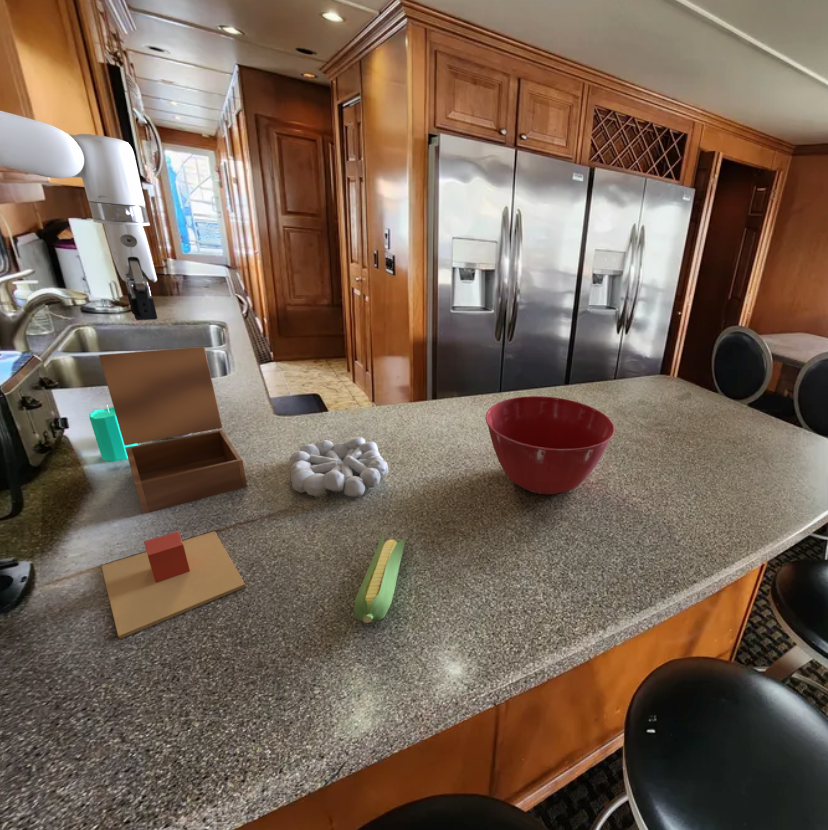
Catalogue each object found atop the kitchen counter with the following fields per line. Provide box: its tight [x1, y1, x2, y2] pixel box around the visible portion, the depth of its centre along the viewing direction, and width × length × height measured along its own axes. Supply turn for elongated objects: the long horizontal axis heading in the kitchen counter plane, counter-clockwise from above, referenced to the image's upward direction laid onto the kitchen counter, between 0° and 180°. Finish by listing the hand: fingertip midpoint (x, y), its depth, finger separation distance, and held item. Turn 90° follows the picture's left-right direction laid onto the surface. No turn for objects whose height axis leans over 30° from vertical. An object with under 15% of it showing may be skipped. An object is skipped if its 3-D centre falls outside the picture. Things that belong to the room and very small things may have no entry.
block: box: [143, 530, 190, 583], centre depth 68 cm, size 4×4×5 cm
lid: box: [98, 346, 223, 445], centre depth 91 cm, size 17×16×1 cm
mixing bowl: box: [485, 395, 616, 495], centre depth 103 cm, size 28×28×16 cm
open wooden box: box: [125, 429, 248, 515], centre depth 89 cm, size 17×16×7 cm
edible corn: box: [353, 533, 407, 624], centre depth 71 cm, size 5×20×5 cm, turn 7°
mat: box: [100, 530, 247, 640], centre depth 69 cm, size 20×14×1 cm
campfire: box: [289, 436, 389, 498], centre depth 97 cm, size 22×21×6 cm
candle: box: [88, 404, 139, 462], centre depth 95 cm, size 6×6×12 cm
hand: (144, 315), depth 89 cm, fingers open, 4 cm apart
